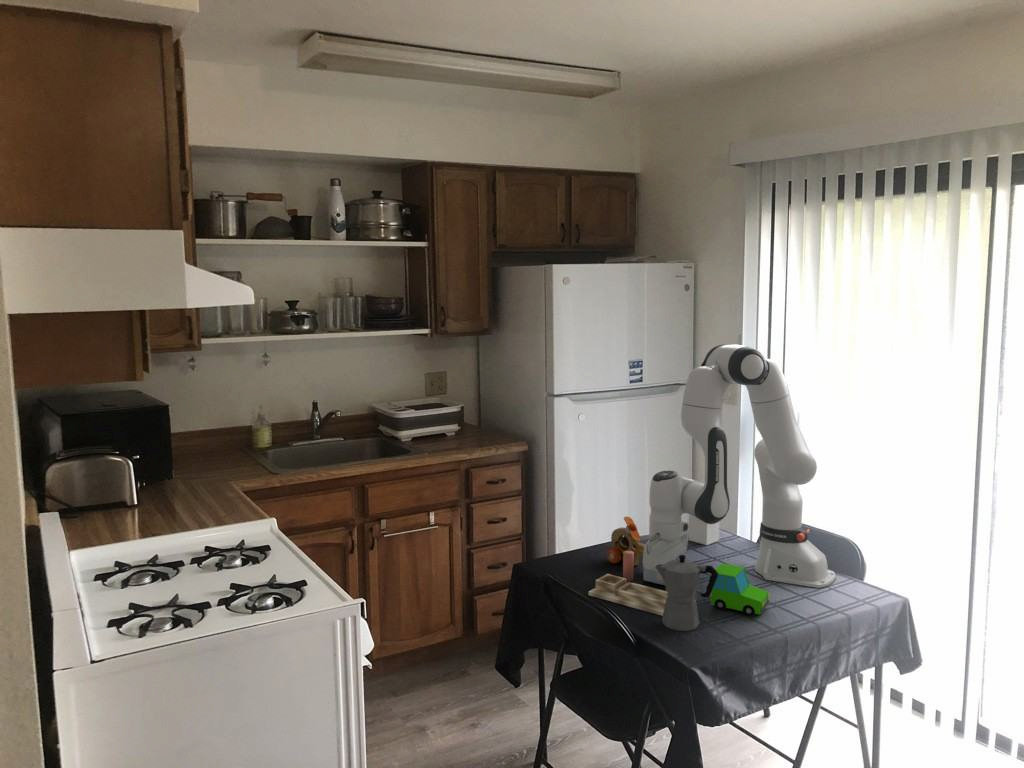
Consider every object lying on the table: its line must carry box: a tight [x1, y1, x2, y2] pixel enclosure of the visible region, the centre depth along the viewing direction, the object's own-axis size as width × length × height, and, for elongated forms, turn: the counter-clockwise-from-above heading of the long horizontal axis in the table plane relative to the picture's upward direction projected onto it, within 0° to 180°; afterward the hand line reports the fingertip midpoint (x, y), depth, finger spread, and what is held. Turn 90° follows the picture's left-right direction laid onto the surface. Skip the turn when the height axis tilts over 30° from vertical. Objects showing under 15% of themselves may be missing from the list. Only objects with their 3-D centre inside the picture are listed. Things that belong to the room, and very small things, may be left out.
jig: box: [588, 573, 668, 617], centre depth 229 cm, size 23×12×4 cm, turn 52°
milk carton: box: [687, 514, 720, 546], centre depth 275 cm, size 7×7×19 cm
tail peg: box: [622, 551, 635, 582], centre depth 242 cm, size 3×3×8 cm
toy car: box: [710, 562, 771, 617], centre depth 221 cm, size 10×13×10 cm
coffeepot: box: [655, 554, 718, 632], centre depth 211 cm, size 15×9×18 cm, turn 80°
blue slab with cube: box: [643, 568, 665, 586], centre depth 238 cm, size 12×4×5 cm, turn 52°
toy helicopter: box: [606, 516, 646, 567], centre depth 252 cm, size 8×21×14 cm, turn 38°
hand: (665, 576), depth 238 cm, fingers closed on blue slab with cube, 4 cm apart
